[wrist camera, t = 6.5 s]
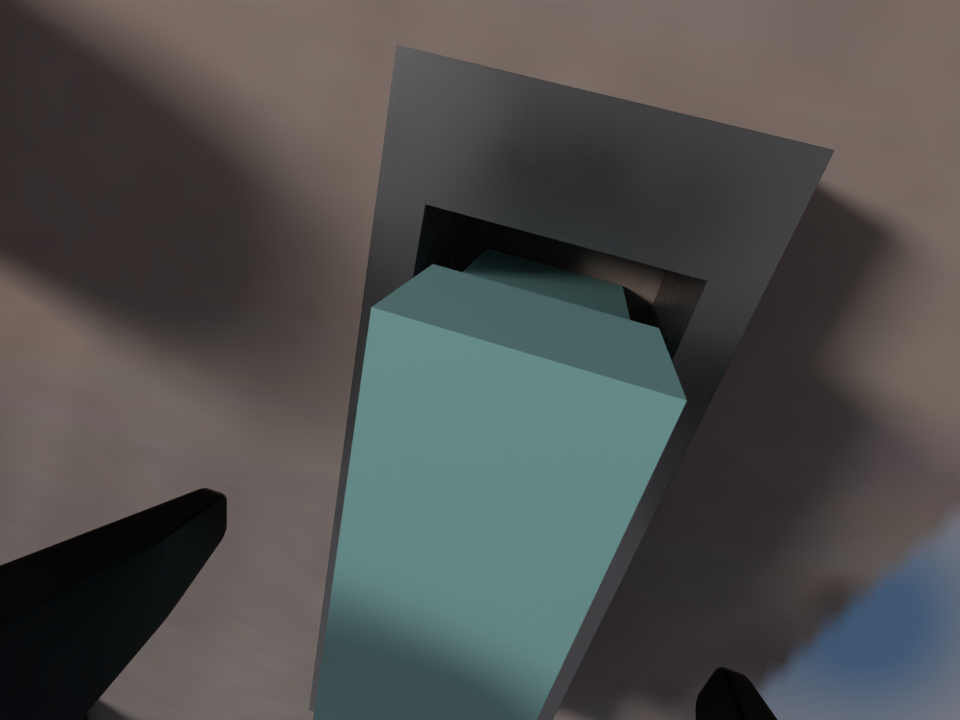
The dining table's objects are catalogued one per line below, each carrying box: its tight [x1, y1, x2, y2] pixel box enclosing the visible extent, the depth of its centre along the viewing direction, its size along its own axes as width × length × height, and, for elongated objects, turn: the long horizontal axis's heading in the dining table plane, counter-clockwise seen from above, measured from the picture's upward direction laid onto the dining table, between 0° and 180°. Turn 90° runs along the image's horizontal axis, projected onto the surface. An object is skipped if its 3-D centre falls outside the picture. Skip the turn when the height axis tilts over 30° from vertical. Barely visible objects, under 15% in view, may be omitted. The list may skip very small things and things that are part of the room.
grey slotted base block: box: [309, 45, 834, 720], centre depth 11 cm, size 16×6×3 cm, turn 167°
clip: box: [313, 249, 687, 720], centre depth 10 cm, size 11×3×6 cm, turn 167°
